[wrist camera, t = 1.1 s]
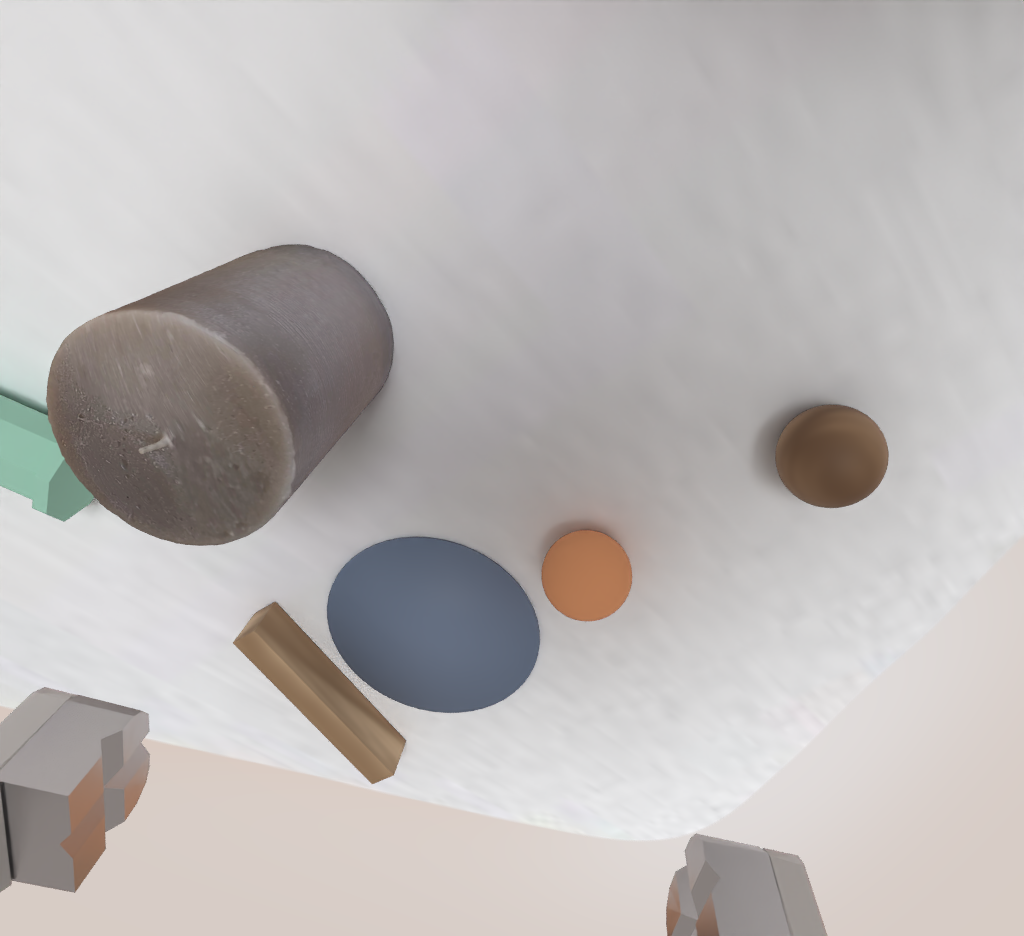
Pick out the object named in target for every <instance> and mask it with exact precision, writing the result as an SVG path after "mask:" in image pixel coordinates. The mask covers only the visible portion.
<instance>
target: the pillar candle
mask: <svg viewBox="0 0 1024 936" xmlns="http://www.w3.org/2000/svg"><path fill="white" fill-rule="evenodd" d="M392 357H393V334H392V327H391V323H390V320H389V317H388V315H387V313H386V310H385V309H384V307H383V305H382V304H381V302H380V301H379V299H378V297H377V295H376V294H375V292H374V290H373V289H372V288H371V287H370V285H369V284H368V283H367V282H366V280H365V279H364V278H363V277H362V276H361V275H360V274H359V273H358V271H357V270H356V269H354V268H353V267H352V266H351V265H350V264H349V263H347V262H345V261H344V260H342V259H341V258H339V257H337V256H336V255H334V254H332V253H330V252H328V251H325V250H321V249H317V248H314V247H311V246H308V245H281V246H275V247H271V248H268V249H265V250H258V251H255V252H252V253H250V254H247V255H244V256H242V257H239V258H237V259H235V260H233V261H231V262H228V263H226V264H224V265H221V266H218V267H216V268H214V269H212V270H210V271H206V272H204V273H202V274H200V275H198V276H195V277H193V278H190V279H188V280H186V281H184V282H181V283H179V284H176V285H173V286H171V287H169V288H166V289H164V290H162V291H159V292H157V293H154V294H152V295H150V296H148V297H145V298H143V299H141V300H138V301H136V302H133V303H130V304H128V305H125V306H123V307H120V308H118V309H116V310H112V311H110V312H107V313H105V314H103V315H101V316H98V317H96V318H94V319H92V320H90V321H88V322H86V323H85V324H83V325H82V326H80V327H78V328H77V329H76V330H74V331H73V332H72V333H71V334H69V335H68V336H67V337H66V338H65V340H64V341H63V342H62V344H61V346H60V348H59V349H58V351H57V353H56V355H55V357H54V359H53V361H52V364H51V368H50V373H49V378H48V385H47V397H46V401H47V407H48V420H49V423H50V424H51V427H52V431H53V434H54V437H55V438H56V441H57V443H58V446H59V449H60V452H61V454H62V456H63V457H64V458H65V461H66V463H67V464H68V465H69V466H70V468H71V470H72V471H73V473H74V474H75V476H76V477H77V478H78V480H79V481H80V482H81V483H82V484H83V485H84V486H85V488H86V489H87V490H88V491H89V492H91V493H92V495H93V496H94V497H95V498H96V499H97V500H98V501H99V502H100V504H101V505H103V506H104V507H105V508H106V509H107V510H109V511H111V512H112V513H114V514H115V515H117V516H119V517H120V518H121V519H122V520H124V521H125V522H126V523H128V524H130V525H131V526H132V527H134V528H136V529H138V530H140V531H143V532H145V533H147V534H149V535H152V536H155V537H157V538H160V539H164V540H167V541H171V542H175V543H180V544H185V545H198V546H202V545H220V544H225V543H228V542H232V541H234V540H237V539H240V538H243V537H246V536H248V535H250V534H251V533H253V532H254V531H256V530H258V529H259V528H261V527H262V526H263V525H265V524H266V523H267V522H268V521H269V520H270V519H271V518H272V517H273V516H274V515H275V514H276V513H277V512H278V511H279V510H280V508H281V507H282V506H283V505H284V504H285V503H286V502H287V500H288V499H289V498H290V497H291V496H292V494H293V493H294V492H295V491H296V490H297V489H298V488H299V486H300V485H301V484H302V483H303V482H304V480H305V479H306V478H307V477H308V475H309V474H310V473H311V472H312V471H313V469H314V468H315V467H316V466H317V465H318V464H319V462H320V461H321V460H322V459H323V458H324V456H325V455H326V454H327V453H328V452H329V450H330V449H331V448H332V447H333V446H334V445H335V443H336V442H337V441H338V440H339V439H340V437H341V436H342V435H343V434H344V433H345V432H346V430H347V429H348V428H349V427H350V426H351V424H352V423H353V422H354V421H355V419H356V418H357V417H358V416H359V415H360V414H361V412H362V411H363V410H364V409H365V408H366V406H367V405H368V404H369V403H370V402H371V401H372V400H373V399H374V397H375V396H376V394H377V393H378V392H379V391H380V390H381V388H382V386H383V385H384V383H385V381H386V379H387V376H388V374H389V371H390V368H391V364H392Z"/></svg>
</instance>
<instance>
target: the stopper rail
mask: <svg viewBox="0 0 1024 936" xmlns="http://www.w3.org/2000/svg"><path fill="white" fill-rule="evenodd" d="M233 644H234V645H235V646H236V647H237V648H238V649H239V650H240V651H241V652H242V653H243V654H244V655H245V656H246V657H247V658H248V659H249V660H250V661H251V662H252V663H253V664H254V665H255V666H256V667H257V668H258V669H259V670H260V671H261V672H262V673H263V674H264V675H265V676H266V677H267V678H268V679H269V680H270V681H271V682H272V683H273V684H274V685H275V686H276V687H277V688H278V689H279V690H280V691H281V692H282V693H283V694H284V695H285V696H286V697H287V698H288V699H289V700H290V701H291V702H292V703H293V704H294V705H295V706H296V707H297V708H298V709H299V710H300V711H301V712H302V714H303V715H304V716H305V717H306V718H307V719H308V720H309V721H310V722H311V723H312V724H313V725H314V726H315V727H316V728H317V729H318V730H319V731H320V732H321V733H322V734H323V735H324V736H325V737H326V738H327V739H328V740H329V741H330V742H331V743H332V744H333V745H334V746H335V747H336V748H337V749H338V750H339V751H340V752H341V753H342V754H343V755H344V756H345V757H346V758H347V759H348V760H349V761H350V762H351V763H352V764H353V765H354V766H355V767H356V768H357V769H358V770H359V771H360V772H361V773H362V774H363V775H364V776H365V777H366V778H367V779H368V780H369V781H370V782H371V784H374V783H376V782H379V781H381V780H383V779H386V778H388V777H391V776H393V775H394V773H395V770H396V768H397V765H398V762H399V759H400V756H401V753H402V751H403V748H404V745H405V742H406V740H405V739H404V738H403V737H402V736H401V735H400V734H399V733H398V732H397V731H396V730H395V729H394V728H393V726H392V725H391V724H390V723H389V722H388V721H387V720H386V719H385V718H384V717H383V716H382V715H381V714H380V713H379V712H378V710H377V709H376V708H375V707H374V706H373V705H372V704H371V703H370V702H369V701H368V700H367V699H366V698H365V697H364V696H363V695H362V693H361V692H360V691H359V690H358V689H357V688H356V687H355V686H354V685H353V684H352V683H351V682H350V681H349V680H348V679H347V677H346V676H345V675H344V674H343V673H342V672H341V671H340V670H339V669H338V668H337V667H336V666H335V665H334V664H333V663H332V661H331V660H330V659H329V658H328V657H327V656H326V655H325V654H324V653H323V652H322V651H321V650H320V649H319V648H318V647H317V646H316V644H315V643H314V642H313V641H312V640H311V639H310V638H309V637H308V636H307V635H306V634H305V633H304V632H303V631H302V630H301V628H300V627H299V626H298V625H297V624H296V623H295V622H294V621H293V620H292V619H291V618H290V617H289V616H288V615H287V614H286V612H285V611H284V610H283V609H282V608H281V607H280V606H279V605H278V604H277V603H276V602H274V603H272V604H270V605H268V606H267V607H265V608H263V609H262V610H260V611H258V612H256V613H255V614H254V615H253V617H252V618H251V619H250V621H249V622H248V623H247V625H246V626H245V627H244V629H243V630H242V631H241V633H240V634H239V635H238V637H237V638H236V639H235V641H234V642H233Z"/></svg>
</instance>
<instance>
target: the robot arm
mask: <svg viewBox="0 0 1024 936" xmlns="http://www.w3.org/2000/svg"><path fill="white" fill-rule="evenodd" d="M148 732H149V714H148V713H145V712H143V711H140V710H136V709H132V708H128V707H124V706H121V705H117V704H113V703H109V702H105V701H101V700H97V699H93V698H89V697H85V696H81V695H75V694H71V693H67V692H63V691H59V690H55V689H50V688H46V687H44V688H42V689H40V690H37V691H35V692H33V693H32V694H30V695H29V696H28V697H27V698H26V699H25V700H24V701H23V702H22V703H21V704H20V705H19V706H18V707H17V708H16V709H15V710H14V711H13V712H12V713H11V714H10V715H9V716H8V717H6V718H5V719H4V720H3V721H2V722H1V723H0V892H1V891H3V890H4V889H6V888H7V887H9V886H10V885H11V884H12V881H17V882H22V883H27V884H33V885H38V886H43V887H48V888H54V889H59V890H64V891H69V892H74V893H75V892H76V890H77V889H78V888H79V886H80V885H81V883H82V882H83V880H84V879H85V878H86V876H87V875H88V873H89V872H90V870H91V869H92V868H93V866H94V865H95V863H96V862H97V861H98V859H99V858H100V856H101V855H102V853H103V852H104V851H105V849H106V846H105V832H106V831H108V830H110V829H112V828H114V827H115V826H117V825H119V824H121V823H122V822H124V821H125V820H126V819H127V817H128V816H129V814H130V813H131V811H132V810H133V808H134V807H135V805H136V804H137V801H138V799H139V797H140V795H141V793H142V790H143V788H144V786H145V783H146V780H147V775H148V771H149V758H150V756H149V753H148V751H147V750H146V749H145V747H144V746H143V745H142V743H141V742H142V740H143V739H144V738H145V736H146V735H147V734H148ZM685 856H686V862H687V866H685V867H683V868H681V869H679V870H678V871H676V872H675V875H674V878H673V880H672V883H671V885H670V888H669V895H668V901H667V909H666V916H667V917H666V925H667V936H827V933H826V930H825V927H824V924H823V921H822V918H821V915H820V912H819V909H818V906H817V903H816V900H815V897H814V893H813V891H812V887H811V884H810V881H809V878H808V875H807V872H806V869H805V866H804V863H803V862H802V860H801V859H800V858H799V856H797V855H793V854H788V853H784V852H779V851H774V850H769V849H765V848H763V849H762V848H760V847H758V846H753V845H748V844H743V843H738V842H734V841H729V840H724V839H719V838H715V837H709V836H705V835H700V834H695V835H694V836H693V837H691V838H690V840H689V842H688V845H687V847H686V849H685ZM11 880H12V881H11Z"/></svg>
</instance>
